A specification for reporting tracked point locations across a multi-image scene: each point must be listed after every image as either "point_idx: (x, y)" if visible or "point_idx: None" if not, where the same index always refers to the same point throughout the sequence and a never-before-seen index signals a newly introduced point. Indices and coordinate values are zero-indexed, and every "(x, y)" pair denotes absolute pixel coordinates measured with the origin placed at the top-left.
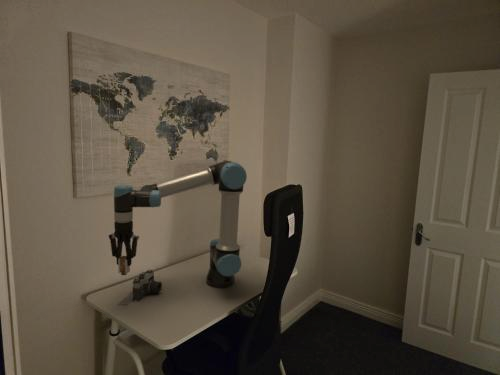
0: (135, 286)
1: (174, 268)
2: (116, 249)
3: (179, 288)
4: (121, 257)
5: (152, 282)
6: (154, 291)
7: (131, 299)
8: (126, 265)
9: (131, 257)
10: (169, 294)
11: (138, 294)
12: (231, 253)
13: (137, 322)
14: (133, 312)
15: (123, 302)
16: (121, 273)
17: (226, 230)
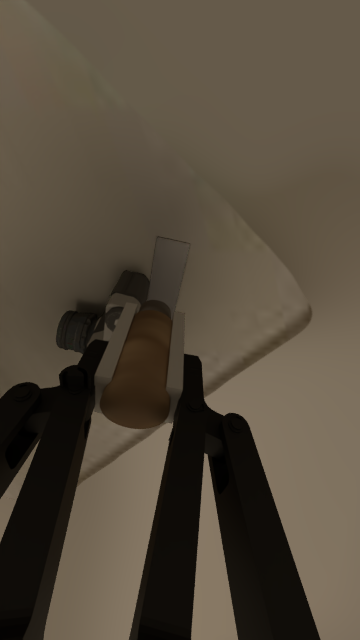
0: (123, 298)
1: (103, 437)
2: (219, 499)
3: (32, 347)
4: (151, 400)
5: (82, 340)
6: (80, 313)
7: (152, 279)
8: (113, 337)
9: (27, 388)
10: (42, 313)
11: (118, 281)
12: None
13: (46, 75)
14: (106, 179)
15: (173, 258)
16: (164, 308)
17: None
